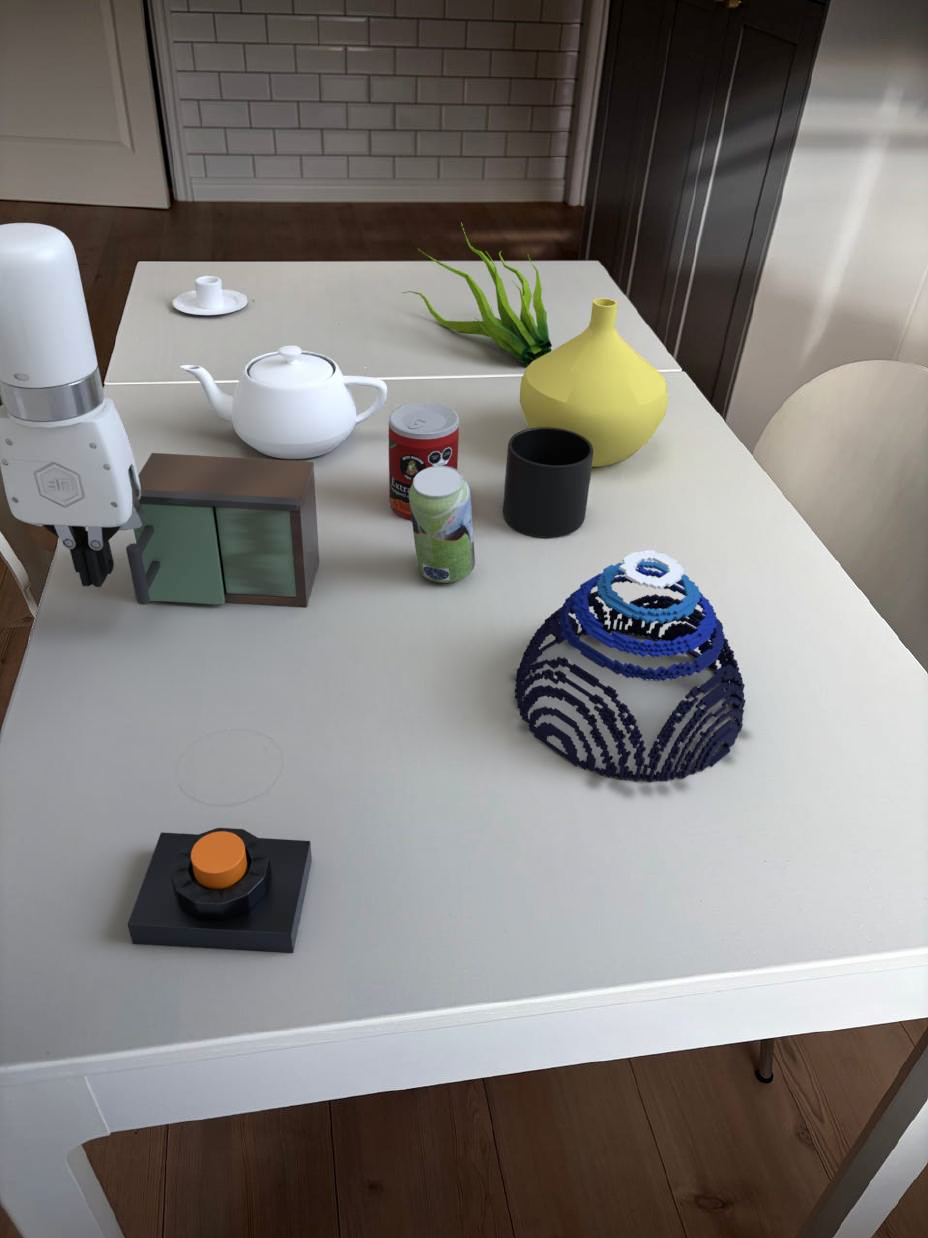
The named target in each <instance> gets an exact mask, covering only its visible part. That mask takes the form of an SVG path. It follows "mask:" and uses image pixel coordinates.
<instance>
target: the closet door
mask: <svg viewBox="0 0 928 1238" xmlns="http://www.w3.org/2000/svg"><path fill="white" fill-rule="evenodd" d="M139 502H140V505H141V507H142V509H143V511H144V513H145V515H146V519H145V521H144V523H143V524H142V526H141V527H140V528H136V529H133V533H134V538H135V543H131V544H128V545H126V546H125V550H126V554H127V561H128V565H129V571H130V576H131V579H132V580H131V581H132V587H133V590H134V596H135V600H136V603H137V604H138V605H140V606H141V605H143V606H144V605H147V604H149V603H150V602H151V601H154V602H171V603H187V604H188V603H189V604H207V605H225V597H224V589H223V581H222V574H221V566H220V559H219V551H218V543H217V536H216V528H215V521H214V513H213V506H212V505H195V504H177V503H159V502H141V501H139Z"/></svg>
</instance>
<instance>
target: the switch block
mask: <svg viewBox="0 0 928 1238" xmlns="http://www.w3.org/2000/svg"><path fill="white" fill-rule="evenodd" d="M220 831H225V832H230V833H233V834H235V835H237V836H238V837H239V838H241V840H242V841H243V843H244V846H245V852H246V859H247V869H246V872H245V874H244V875H243V877H242V878H241V879H240V880H239V881H238V882H237V883H235V884H233V885H232V886H229V887H226V888H222V889H211V888H207V887H204V886H203V885H201V884H200V883H199V882H198V881H197V880H196V878H195V876H194V871H193V866H192V861H191V851H192V849H193V847H194V845H195V844H196V842H197V841H198V840H200V839H201V838H202V837H204V836H206V835H208V834H210V833H213V832H220ZM312 861H313V856H312V845H311V841H310V840H301V839H285V838H266V837H257V836H256V835H255V834H252V833H251V832H249V831H247V830H245V829H244V828H231V827H216V828H213V829H210V830H207V831H205V832H202V833H198V834H196V833H180V832H178V833H177V832H164V831H163V832H162V831H161V832H160V833H159V836H158V840H157V842H156V845H155V848H154V850H153V853H152V856H151V858H150V861H149V864H148V867H147V869H146V872H145V875H144V878H143V881H142V883H141V886H140V889H139V892H138V894H137V897H136V900H135V903H134V905H133V908H132V910H131V913H130V917H129V920H128V922H127V930H128V932H129V936H130V940H131V942H132V943H131V944H132V945H140V946H141V945H144V946H159V947H160V946H161V947H175V948H177V947H178V948H194V949H196V948H197V949H211V950H212V949H213V950H229V951H246V952H247V951H248V952H264V953H278V954H279V953H280V954H293V953H294V950H295V945H296V940H297V936H298V931H299V927H300V926H299V925H300V922H301V916H302V913H303V912H302V911H303V906H304V901H305V897H306V891H307V886H308V881H309V876H310V872H311V866H312Z"/></svg>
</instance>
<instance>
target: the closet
mask: <svg viewBox="0 0 928 1238" xmlns="http://www.w3.org/2000/svg"><path fill="white" fill-rule="evenodd" d="M314 463H315V462H314V461H309V460H308V461H307V460H305V461H304V460H292V459H271V458H269V459H268V458H251V457H235V456H234V457H233V456H216V455H199V454H198V455H197V454H182V453H181V454H178V453H164V452H163V453H162V452H151V454H150V455H149V457H148V459H147V460H146V462H145V463H144V465H143V467H142V468H141V470H140V472H138V476H139V481H140V487H141V497H140V499H139V501H141V502H159V503H177V504H195V505H212V506H213V513H214V521H215V528H216V536H217V543H218V551H219V559H220V566H221V574H222V581H223V589H224V597H225V603H226V604H227V603H228V604H245V605H260V606H261V605H264V606H266V605H267V606H281V607H282V606H283V607H300V608H307V607H308V604H309V600H310V597H311V593H312V590H313V587H314V583H315V579H316V576H317V573H318V568H319V564H320V549H319V548H320V547H319V533H318V532H319V531H318V515H317V500H316V482H315V480H316V479H315V464H314ZM225 603H224V604H225Z"/></svg>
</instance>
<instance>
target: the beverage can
mask: <svg viewBox="0 0 928 1238" xmlns="http://www.w3.org/2000/svg"><path fill="white" fill-rule="evenodd" d="M471 500H472V499H471V489H470V486H469V484H468V482H467V481H466V479H465V478H464V477H463V474H462V472H460V471H459V470H458V469H457V470H456V469H454V468H452V467H448V466H434V467H429V468H426V469H424V470H422V471H421V472H419V473H418V474H417V475H416V476H415V478H414V480H413V484H412V486H411V488H410V490H409V501H410V509H411V517H412V519H411V524H412V532H413V539H414V548H415V555H416V563H417V569H418V571H419V573H420V574H421V575H422V576H423V577H424V578H426V580H429V581H432V582H436V583H442V584H447V583H448V584H449V583H454V582H457V581H460V580H462V579H464V578H466V577H467V576H468V575H469V574H471V572H472V571H473V570H474V568H475V566H476V557H475V541H474V527H473V526H474V525H473V513H472V512H473V511H472V501H471Z"/></svg>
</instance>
